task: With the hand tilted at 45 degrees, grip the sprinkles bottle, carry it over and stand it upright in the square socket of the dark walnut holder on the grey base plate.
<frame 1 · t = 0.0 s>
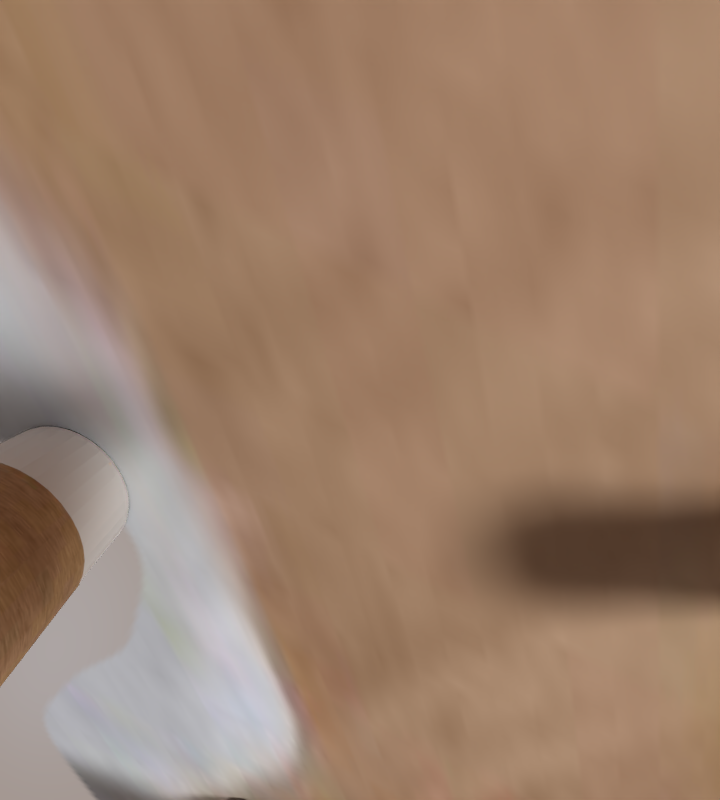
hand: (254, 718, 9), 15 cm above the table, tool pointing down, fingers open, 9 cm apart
coffee cup: (70, 485, 28), on the table
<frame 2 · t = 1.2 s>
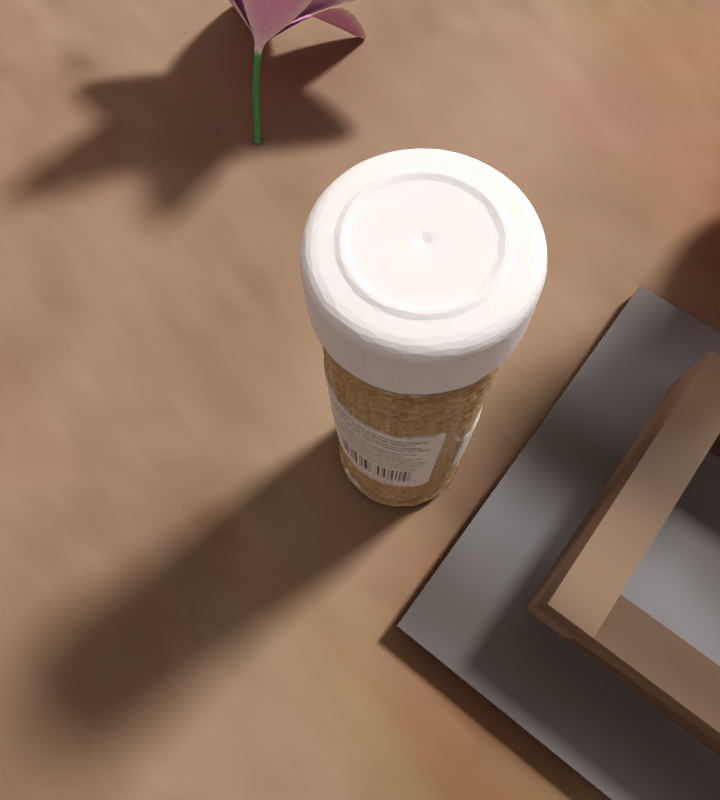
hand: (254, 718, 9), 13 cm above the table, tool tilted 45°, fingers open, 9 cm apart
sprinkles bottle: (398, 450, 24), on the table
lily: (286, 79, 31), on the table
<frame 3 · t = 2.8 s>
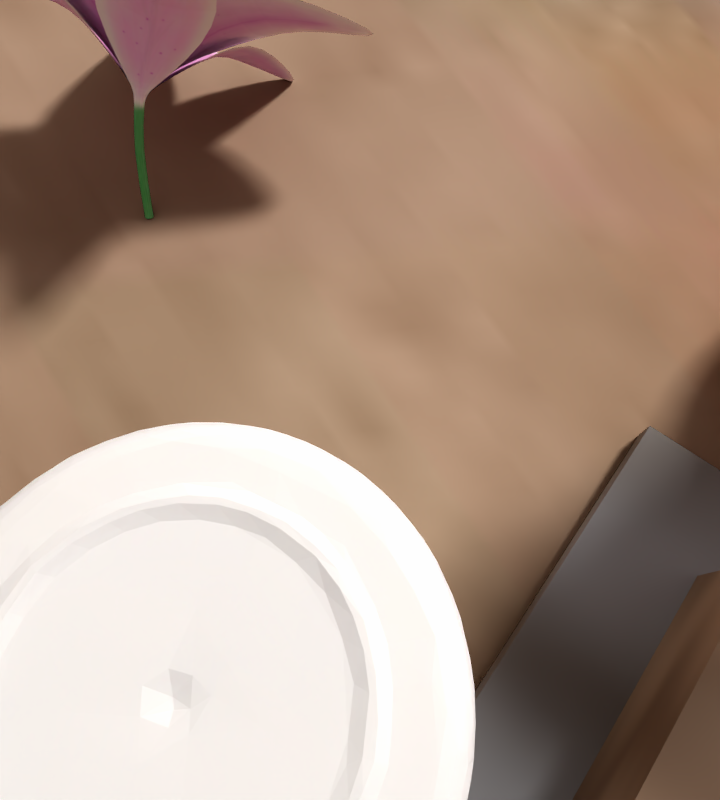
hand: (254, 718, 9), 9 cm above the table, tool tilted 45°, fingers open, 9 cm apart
sprinkles bottle: (316, 667, 17), on the table
lily: (192, 133, 24), on the table
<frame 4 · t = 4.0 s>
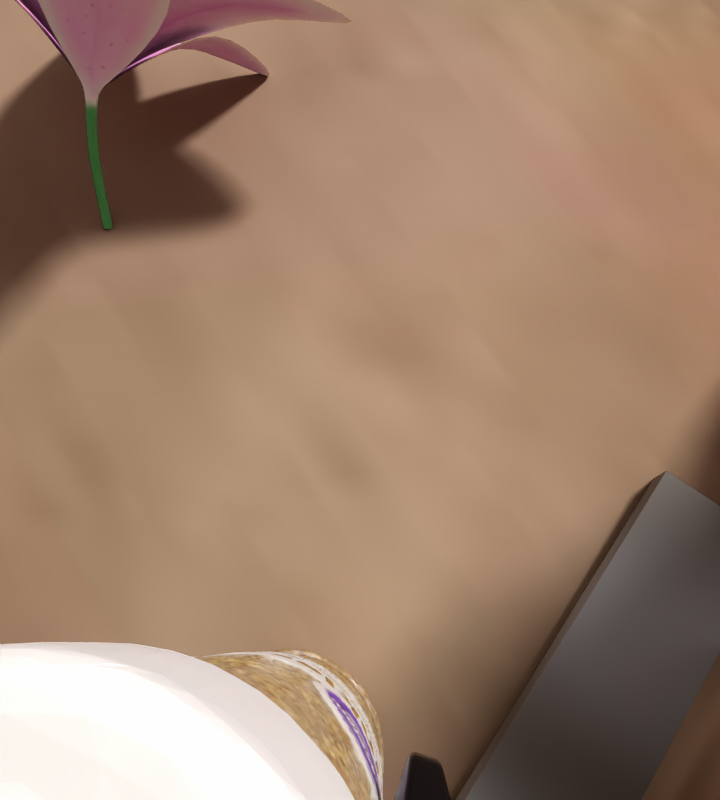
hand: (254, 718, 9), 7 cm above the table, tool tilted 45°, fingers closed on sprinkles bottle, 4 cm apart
sprinkles bottle: (287, 749, 15), on the table, touching gripper
lily: (158, 133, 22), on the table
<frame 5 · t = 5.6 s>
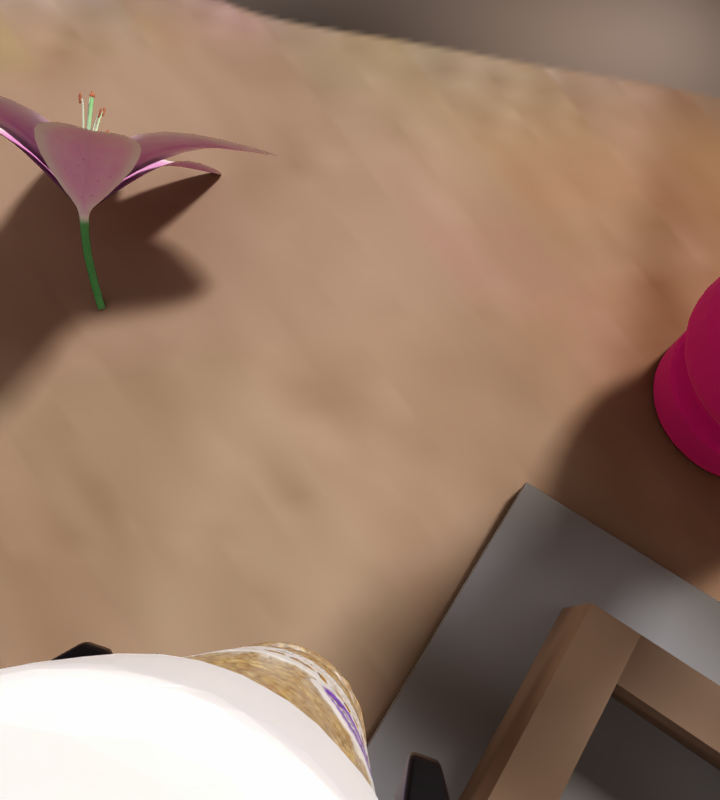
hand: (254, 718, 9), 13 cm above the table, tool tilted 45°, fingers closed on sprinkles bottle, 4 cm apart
sprinkles bottle: (269, 740, 15), point 6 cm above the table, touching gripper
lily: (135, 226, 28), on the table
when the fingers open (9 cm above the table, at t = 7.5 s): sprinkles bottle drops 1 cm, resting on socket holder.
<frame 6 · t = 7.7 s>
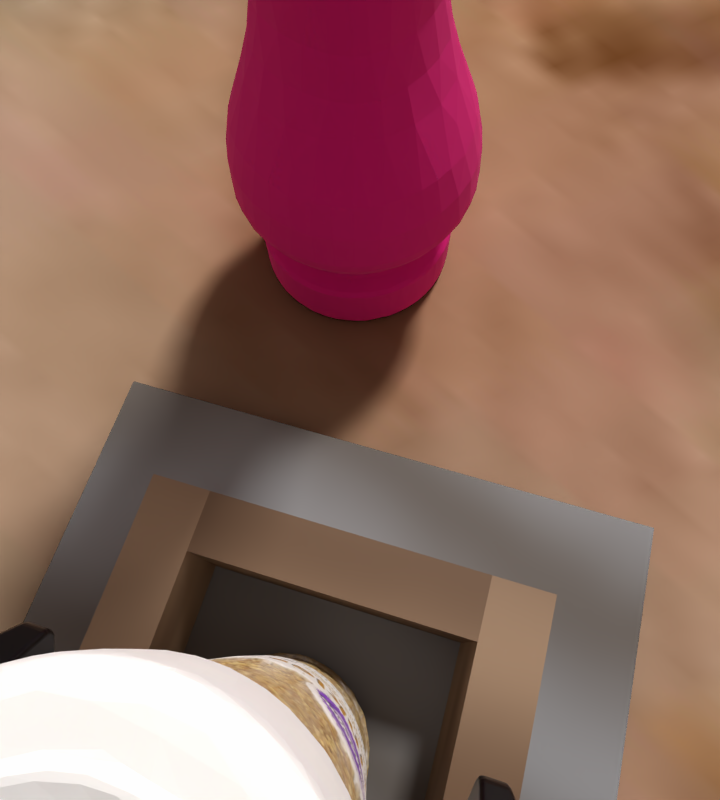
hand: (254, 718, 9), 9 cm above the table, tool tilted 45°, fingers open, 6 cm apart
socket holder: (297, 737, 17), on the table
sprinkles bottle: (280, 745, 16), point 1 cm above the table, touching socket holder
pepper mill: (358, 247, 23), on the table
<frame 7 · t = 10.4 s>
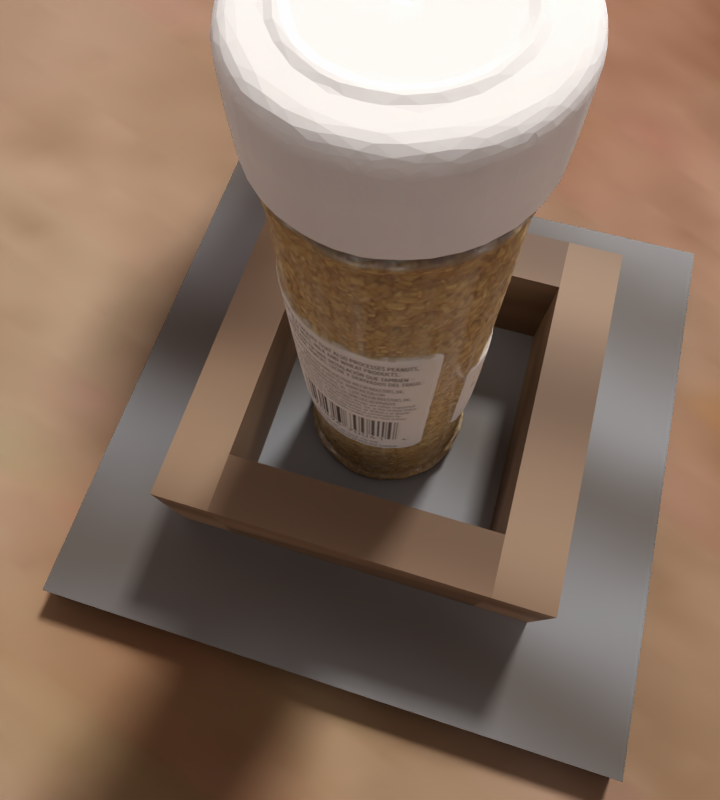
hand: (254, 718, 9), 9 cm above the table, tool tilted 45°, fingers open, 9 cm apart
socket holder: (396, 415, 20), on the table
sprinkles bottle: (385, 412, 20), point 1 cm above the table, touching socket holder
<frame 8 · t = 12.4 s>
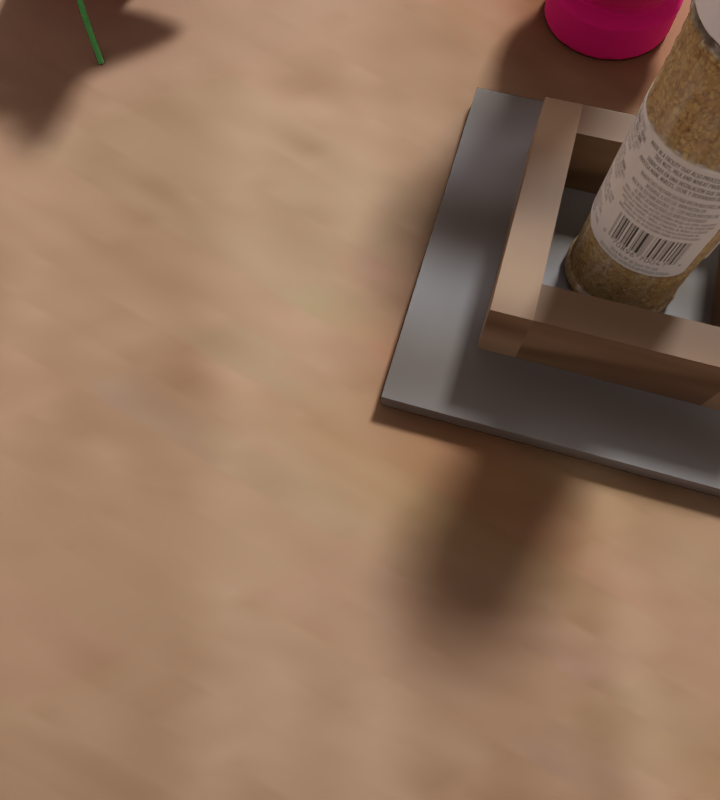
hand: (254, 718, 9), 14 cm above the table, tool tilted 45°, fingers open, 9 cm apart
socket holder: (618, 282, 27), on the table
sprinkles bottle: (615, 277, 26), point 1 cm above the table, touching socket holder
pepper mill: (604, 19, 33), on the table
lily: (105, 8, 34), on the table
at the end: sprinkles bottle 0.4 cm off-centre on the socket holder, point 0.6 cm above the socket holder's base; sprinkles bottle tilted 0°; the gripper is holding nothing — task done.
